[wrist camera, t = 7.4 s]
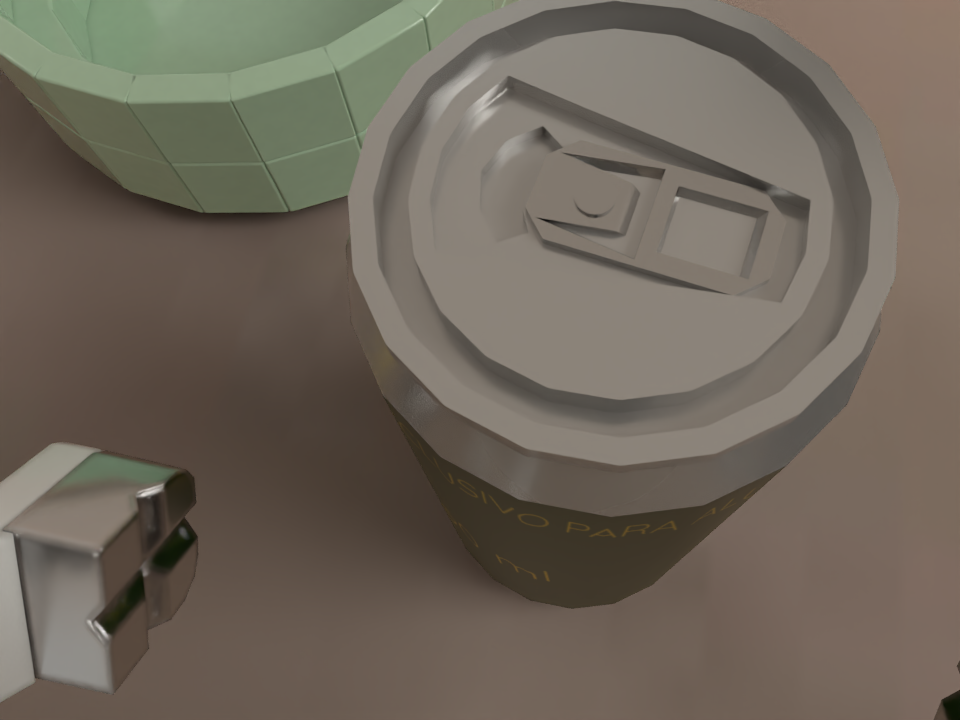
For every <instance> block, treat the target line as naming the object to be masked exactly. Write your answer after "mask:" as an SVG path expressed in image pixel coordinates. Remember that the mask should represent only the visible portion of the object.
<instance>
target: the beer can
mask: <svg viewBox="0 0 960 720" xmlns="http://www.w3.org/2000/svg"><path fill="white" fill-rule="evenodd" d="M348 208H349V222H350V234H349V238H348V241H347V245H346V260H347V275H348V289H349V304H350V319H351V324H352V326H353V329H354V331H355V333H356V336H357V338H358V340H359V342H360V345H361V347H362V349H363V351H364V354H365V356H366V358H367V361H368V363H369V365H370V367H371V370H372V372H373V374H374V377H375V379H376V381H377V383H378V386H379V388H380V390H381V392H382V395H383V397H384V398H385V400H386V402H387V404H388V406H389V408H390V410H391V411H392V413H393V415H394V417H395V419H396V421H397V422H398V424H399V426H400V428H401V430H402V432H403V433H404V435H405V437H406V439H407V441H408V443H409V445H410V446H411V448H412V450H413V452H414V454H415V456H416V457H417V459H418V461H419V463H420V465H421V467H422V468H423V470H424V472H425V474H426V476H427V478H428V480H429V481H430V483H431V485H432V487H433V489H434V491H435V492H436V494H437V496H438V498H439V500H440V502H441V503H442V505H443V507H444V509H445V511H446V513H447V515H448V516H449V518H450V520H451V522H452V524H453V526H454V527H455V529H456V531H457V533H458V535H459V537H460V538H461V540H462V542H463V544H464V546H465V548H466V549H467V550H468V551H469V552H470V554H471V555H472V556H473V557H474V558H475V559H476V560H477V561H478V562H479V564H480V565H481V566H482V567H483V568H484V569H485V570H486V571H487V572H488V573H489V575H490V576H491V577H492V578H493V579H494V580H496V581H498V582H499V583H501V584H503V585H505V586H506V587H508V588H510V589H512V590H513V591H515V592H517V593H519V594H520V595H522V596H524V597H526V598H527V599H529V600H532V601H537V602H542V603H546V604H551V605H556V606H561V607H566V608H571V609H574V608H582V607H590V606H598V605H606V604H614V603H616V602H618V601H620V600H622V599H624V598H626V597H629V596H631V595H633V594H635V593H637V592H639V591H641V590H643V589H645V588H647V587H649V586H651V585H653V584H654V583H655V582H656V581H657V580H658V579H659V578H660V577H662V576H663V575H664V574H665V573H666V572H667V571H668V570H669V569H671V568H672V567H673V566H674V565H675V564H676V563H677V562H678V561H680V560H681V559H682V558H683V557H684V556H685V555H686V554H687V553H689V552H690V551H691V550H692V549H693V548H694V547H695V546H696V545H698V544H699V543H700V542H701V541H702V540H703V539H704V538H705V537H707V536H708V535H709V534H710V533H711V532H712V531H713V530H714V529H716V528H717V527H718V526H719V525H720V524H721V523H722V522H723V521H725V520H726V519H727V518H728V517H729V516H730V515H731V514H732V513H734V512H735V511H736V510H737V509H738V508H739V507H740V506H741V505H743V504H744V503H745V502H746V501H747V500H748V499H749V498H750V497H752V496H753V495H754V494H755V493H756V492H757V491H758V490H759V489H761V488H762V487H763V486H764V485H765V484H766V483H767V482H768V481H770V480H771V479H772V478H773V477H774V476H775V475H776V474H777V473H779V472H780V471H781V470H782V469H783V468H784V467H785V466H786V465H787V464H788V463H789V462H790V461H791V460H792V459H793V458H794V457H795V456H796V455H797V454H798V453H799V452H800V451H801V450H802V449H803V448H804V447H805V446H806V445H807V444H808V443H809V442H810V441H811V440H812V439H813V438H814V437H815V436H816V435H817V434H818V433H819V432H820V431H821V430H822V429H823V428H824V427H825V426H826V425H827V424H828V423H829V422H830V421H831V420H832V419H833V418H834V417H835V416H836V415H837V414H838V413H839V412H840V411H841V410H842V409H843V408H844V407H845V406H846V405H847V403H848V401H849V399H850V396H851V394H852V392H853V390H854V387H855V385H856V383H857V381H858V379H859V376H860V374H861V372H862V370H863V367H864V365H865V363H866V361H867V358H868V356H869V354H870V352H871V350H872V347H873V345H874V343H875V341H876V338H877V336H878V334H879V332H880V322H881V308H882V306H883V304H884V302H885V300H886V297H887V295H888V293H889V291H890V289H891V286H892V284H893V282H894V280H895V275H896V255H897V234H898V214H899V197H898V194H897V191H896V188H895V185H894V182H893V179H892V176H891V173H890V170H889V167H888V163H887V160H886V157H885V154H884V151H883V148H882V145H881V142H880V139H879V136H878V133H877V130H876V126H875V125H874V124H873V122H872V121H871V120H870V118H869V117H868V116H867V114H866V113H865V112H864V110H863V109H862V108H861V106H860V105H859V104H858V102H857V101H856V100H855V98H854V97H853V96H852V95H851V93H850V92H849V91H848V89H847V88H846V87H845V85H844V84H843V83H842V81H841V80H840V79H839V77H838V76H837V75H836V73H835V72H834V71H833V69H832V68H831V67H830V65H829V64H827V63H826V62H825V61H823V60H822V59H821V58H819V57H818V56H816V55H815V54H814V53H812V52H811V51H810V50H808V49H807V48H806V47H804V46H803V45H801V44H800V43H799V42H797V41H796V40H795V39H793V38H792V37H790V36H789V35H788V34H786V33H785V32H784V31H782V30H781V29H779V28H778V27H777V26H775V25H774V24H773V23H771V22H770V21H768V20H767V19H766V18H763V17H760V16H758V15H755V14H752V13H750V12H747V11H744V10H742V9H739V8H736V7H734V6H731V5H729V4H726V3H723V2H721V1H718V0H519V1H517V2H514V3H512V4H509V5H507V6H505V7H502V8H500V9H497V10H495V11H493V12H490V13H488V14H485V15H483V16H480V17H478V18H476V19H473V20H471V21H468V22H467V23H465V24H464V25H463V26H462V27H460V28H459V29H458V30H457V31H455V32H454V33H453V34H451V35H450V36H449V37H448V38H446V39H445V40H444V41H442V42H441V43H440V44H439V45H437V46H436V47H435V48H434V49H432V50H431V51H430V52H428V53H427V54H426V55H425V56H423V57H422V58H421V59H419V60H418V61H417V62H416V63H414V64H413V65H412V66H410V67H409V69H408V70H407V71H406V73H405V74H404V76H403V77H402V79H401V80H400V82H399V83H398V84H397V86H396V87H395V89H394V90H393V92H392V93H391V95H390V96H389V97H388V99H387V100H386V102H385V103H384V105H383V106H382V107H381V109H380V110H379V112H378V113H377V115H376V116H375V118H374V119H373V120H372V122H371V123H370V125H369V126H368V128H367V132H366V135H365V139H364V142H363V146H362V149H361V153H360V156H359V160H358V163H357V167H356V170H355V174H354V177H353V181H352V184H351V187H350V191H349V194H348Z"/></svg>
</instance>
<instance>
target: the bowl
mask: <svg viewBox="0 0 960 720" xmlns="http://www.w3.org/2000/svg"><path fill="white" fill-rule="evenodd" d="M517 1H519V0H0V69H1V70H2V71H3V72H4V73H5V74H6V75H7V77H8V78H9V79H10V80H11V81H12V82H13V83H14V85H15V86H16V87H17V88H18V89H19V90H20V91H21V92H22V94H23V95H24V96H25V97H26V99H27V100H28V101H29V102H30V103H31V104H32V105H33V107H34V108H35V109H36V110H37V111H38V112H39V113H40V115H41V116H42V117H43V118H44V119H45V120H46V121H47V123H48V124H49V125H50V126H51V127H52V128H53V129H54V131H55V132H56V133H57V134H58V135H59V136H60V137H61V139H62V140H63V141H64V142H65V143H66V144H67V145H68V147H70V148H71V149H72V150H73V151H74V152H76V153H77V154H78V155H80V156H81V157H83V158H84V159H85V160H87V161H88V162H89V163H91V164H92V165H93V166H95V167H96V168H97V169H99V170H100V171H102V172H103V173H104V174H106V175H107V176H108V177H110V178H111V179H112V180H114V181H115V182H117V183H118V184H119V185H121V186H122V187H123V188H125V189H128V190H129V191H131V192H134V193H138V194H141V195H144V196H148V197H151V198H154V199H158V200H161V201H164V202H168V203H171V204H174V205H178V206H181V207H184V208H188V209H191V210H194V211H198V212H201V213H204V212H206V213H270V212H288V211H289V210H290V211H296V210H300V209H303V208H307V207H310V206H314V205H317V204H320V203H324V202H327V201H331V200H334V199H338V198H341V197H345V196H348V194H349V191H350V187H351V184H352V181H353V177H354V174H355V170H356V167H357V163H358V160H359V156H360V153H361V149H362V146H363V142H364V139H365V135H366V132H367V128H368V126H369V125H370V123H371V122H372V120H373V119H374V118H375V116H376V115H377V113H378V112H379V110H380V109H381V107H382V106H383V105H384V103H385V102H386V100H387V99H388V97H389V96H390V95H391V93H392V92H393V90H394V89H395V87H396V86H397V84H398V83H399V82H400V80H401V79H402V77H403V76H404V74H405V73H406V71H407V70H408V69H409V67H410V66H412V65H413V64H414V63H416V62H417V61H418V60H419V59H421V58H422V57H423V56H425V55H426V54H427V53H428V52H430V51H431V50H432V49H434V48H435V47H436V46H437V45H439V44H440V43H441V42H442V41H444V40H445V39H446V38H448V37H449V36H450V35H451V34H453V33H454V32H455V31H457V30H458V29H459V28H460V27H462V26H463V25H464V24H465V23H467V22H468V21H471V20H473V19H476V18H478V17H480V16H483V15H485V14H488V13H490V12H493V11H495V10H497V9H500V8H502V7H505V6H507V5H509V4H512V3H514V2H517Z"/></svg>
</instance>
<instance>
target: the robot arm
mask: <svg viewBox="0 0 960 720" xmlns="http://www.w3.org/2000/svg"><path fill="white" fill-rule="evenodd" d="M195 504H196V492H195V480H194V477H193V476H192V475H191V474H190V473H189V471H188V470H187V469H183V468H179V467H175V466H171V465H166V464H162V463H158V462H153V461H149V460H145V459H141V458H136V457H132V456H128V455H123V454H119V453H115V452H111V451H106V450H105V451H102V450H100V449H97V448H92V447H87V446H83V445H78V444H73V443H68V442H59V443H51V444H50V445H49V446H47V447H46V448H45V449H44V450H42V451H41V452H40V453H38V454H37V455H36V456H34V457H33V458H32V459H30V460H29V461H28V462H27V463H25V464H24V465H23V466H21V467H20V468H19V469H17V470H16V471H15V472H14V473H12V474H11V475H10V476H8V477H7V478H6V479H4V480H3V481H2V482H1V483H0V702H2V701H4V700H5V699H7V698H9V697H11V696H12V695H14V694H16V693H18V692H20V691H21V690H23V689H25V688H27V687H28V686H30V685H32V684H34V683H35V678H38V679H42V680H47V681H51V682H56V683H61V684H65V685H70V686H75V687H79V688H84V689H88V690H93V691H98V692H102V693H107V694H111V695H114V693H115V692H116V691H117V689H118V688H119V687H120V686H121V684H122V683H123V682H124V680H125V679H126V678H127V676H128V675H129V674H130V673H131V671H132V670H133V669H134V667H135V666H136V665H137V663H138V662H139V661H140V660H141V658H142V657H143V656H144V654H145V653H146V652H147V650H148V649H149V643H148V630H149V629H152V628H154V627H156V626H158V625H160V624H162V623H165V622H167V621H169V620H171V619H172V617H173V616H174V615H175V613H176V612H177V611H178V609H179V608H180V606H181V605H182V604H183V602H184V601H185V599H186V596H187V594H188V591H189V589H190V586H191V584H192V582H193V579H194V577H195V572H196V566H197V560H198V536H197V535H196V533H195V532H194V530H193V529H192V527H191V526H190V525H189V523H188V522H187V520H186V519H185V516H186V515H187V513H188V512H189V511H190V510H191V509H192V508H193V506H194V505H195ZM957 667H958V670H959V672H960V661H959V663H958V665H957ZM934 720H960V690H959V691H957V692H955V693H953V694H952V695H950V696H948V697H946V698H944V699H942V700H941V703H940V705H939V708H938V710H937V713H936V715H935V718H934Z"/></svg>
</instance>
